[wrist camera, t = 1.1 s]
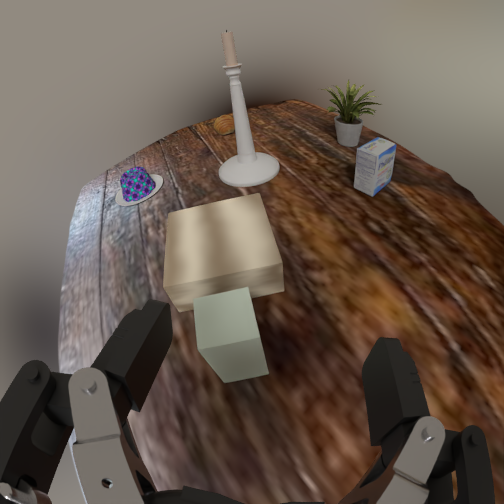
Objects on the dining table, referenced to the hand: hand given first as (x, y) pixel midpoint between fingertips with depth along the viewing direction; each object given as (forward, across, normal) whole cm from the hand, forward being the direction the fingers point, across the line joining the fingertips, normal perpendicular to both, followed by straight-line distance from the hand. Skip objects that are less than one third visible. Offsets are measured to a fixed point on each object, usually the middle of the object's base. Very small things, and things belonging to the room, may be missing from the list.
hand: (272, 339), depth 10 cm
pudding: (+46, +31, +12) cm, 57 cm away
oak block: (+26, +7, +14) cm, 31 cm away
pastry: (+74, +18, -1) cm, 77 cm away
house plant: (+61, -14, -3) cm, 63 cm away
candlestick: (+50, +8, +5) cm, 51 cm away
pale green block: (+13, +2, +17) cm, 22 cm away
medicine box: (+44, -17, +2) cm, 48 cm away
